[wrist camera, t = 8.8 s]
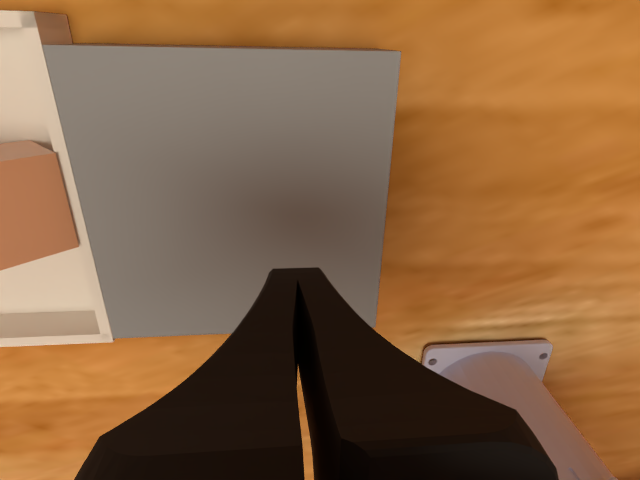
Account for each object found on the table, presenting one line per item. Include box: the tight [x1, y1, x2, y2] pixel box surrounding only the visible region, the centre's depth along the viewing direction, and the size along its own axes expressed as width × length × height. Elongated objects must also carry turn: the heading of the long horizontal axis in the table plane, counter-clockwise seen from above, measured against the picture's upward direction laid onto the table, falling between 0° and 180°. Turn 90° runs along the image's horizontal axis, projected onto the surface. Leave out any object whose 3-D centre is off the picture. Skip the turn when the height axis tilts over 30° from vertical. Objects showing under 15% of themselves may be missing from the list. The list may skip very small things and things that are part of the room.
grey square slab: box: [42, 43, 401, 338], centre depth 19 cm, size 12×12×4 cm
